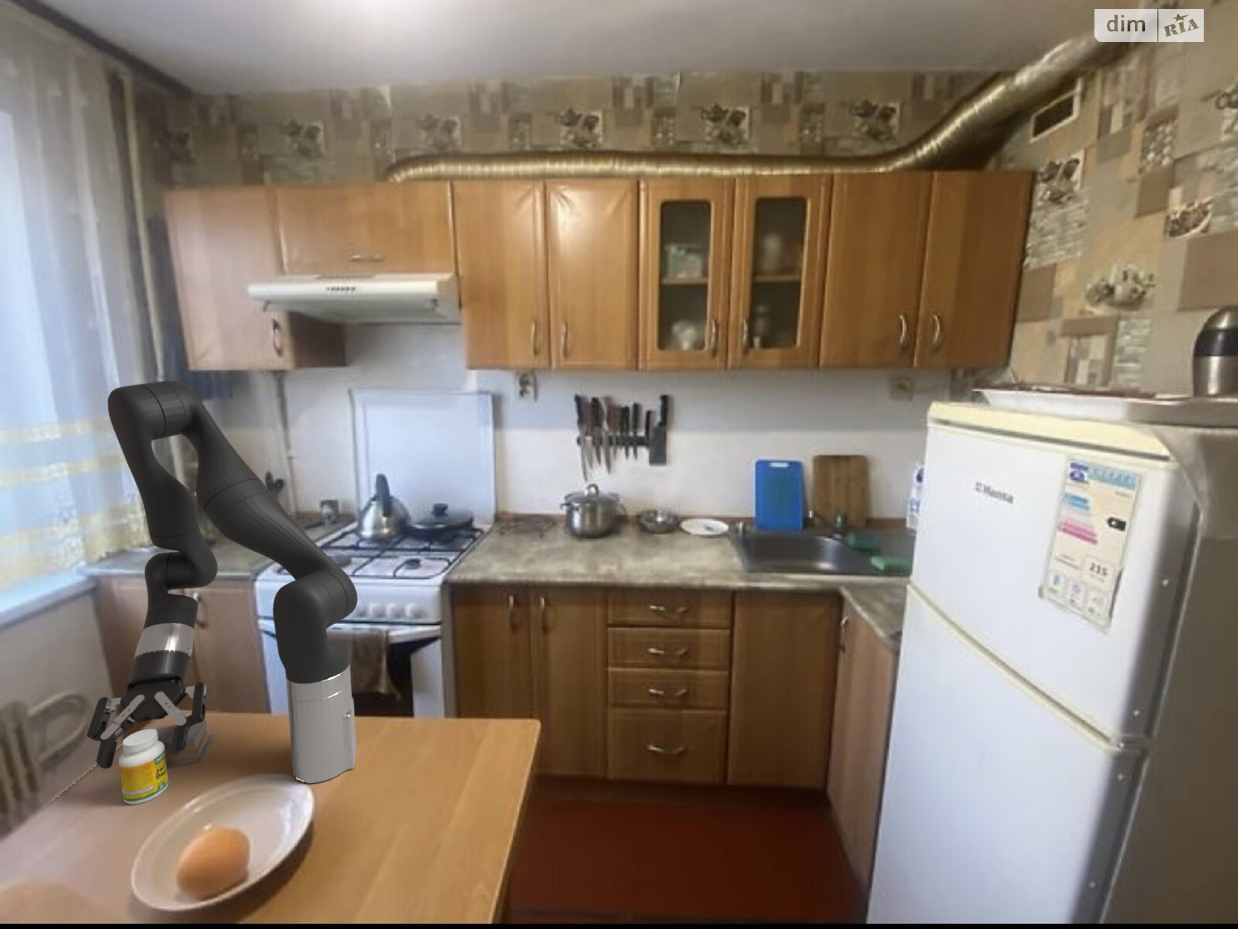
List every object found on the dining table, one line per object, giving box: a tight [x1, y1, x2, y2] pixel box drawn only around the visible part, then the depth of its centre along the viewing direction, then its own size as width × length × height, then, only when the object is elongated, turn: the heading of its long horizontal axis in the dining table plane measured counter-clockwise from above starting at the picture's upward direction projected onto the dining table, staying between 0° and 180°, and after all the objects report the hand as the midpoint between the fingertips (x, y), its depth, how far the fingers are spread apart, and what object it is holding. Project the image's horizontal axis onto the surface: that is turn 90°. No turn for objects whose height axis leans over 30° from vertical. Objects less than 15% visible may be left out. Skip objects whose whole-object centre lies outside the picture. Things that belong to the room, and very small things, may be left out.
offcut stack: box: [155, 720, 215, 769], centre depth 92 cm, size 9×7×4 cm
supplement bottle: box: [118, 728, 169, 805], centre depth 83 cm, size 5×5×10 cm
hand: (140, 760), depth 82 cm, fingers open, 8 cm apart
